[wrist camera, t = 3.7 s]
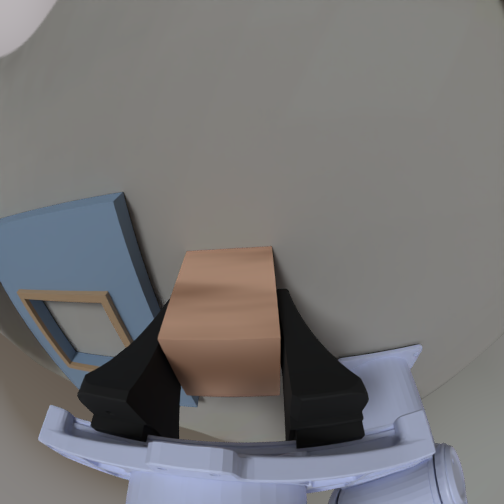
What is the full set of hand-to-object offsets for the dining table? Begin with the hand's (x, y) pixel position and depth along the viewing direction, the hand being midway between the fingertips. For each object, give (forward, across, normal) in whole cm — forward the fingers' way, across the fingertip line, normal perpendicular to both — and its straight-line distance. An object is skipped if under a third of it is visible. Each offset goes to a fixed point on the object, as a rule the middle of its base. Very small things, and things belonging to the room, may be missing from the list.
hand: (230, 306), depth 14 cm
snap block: (+2, 0, 0) cm, 2 cm away
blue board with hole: (+2, +12, +4) cm, 13 cm away
